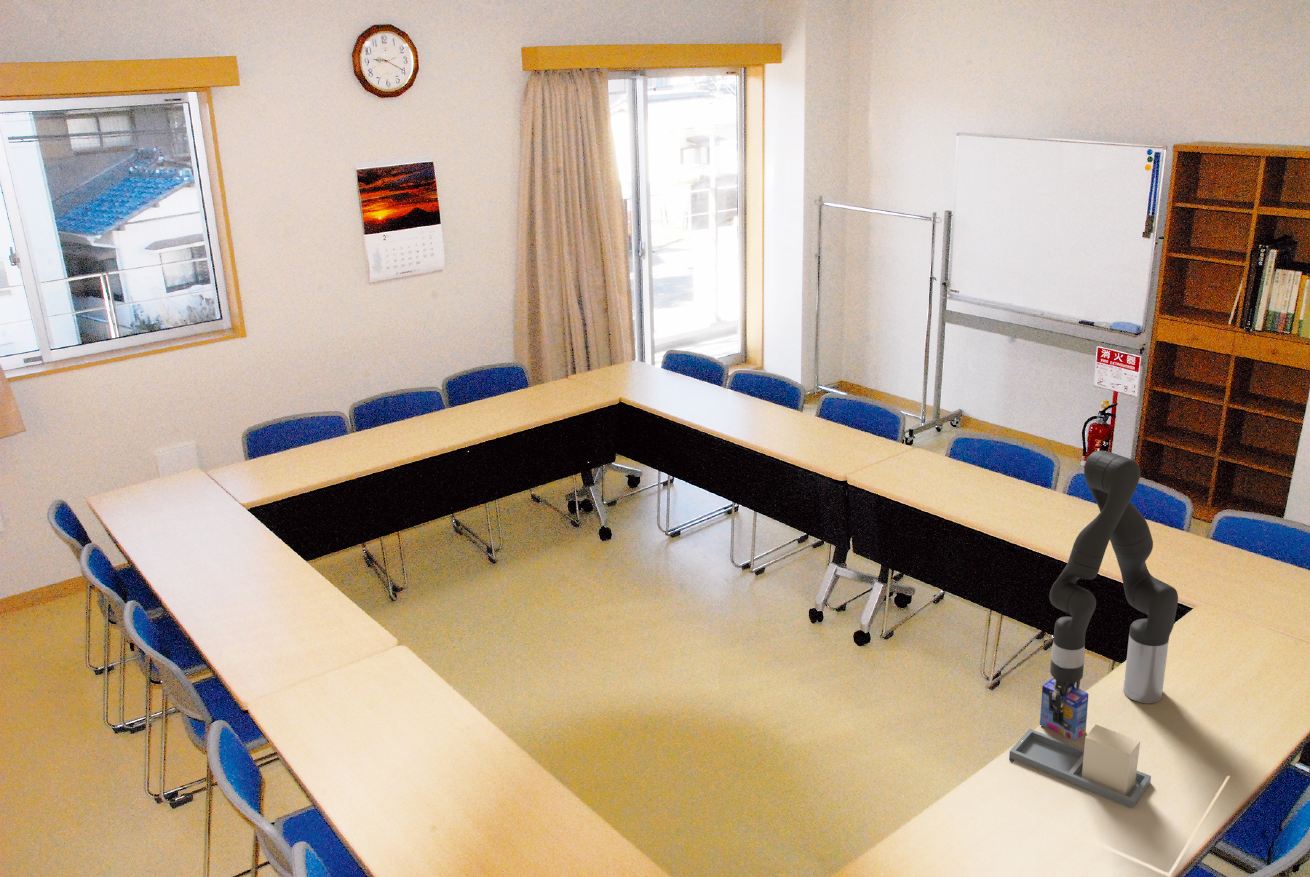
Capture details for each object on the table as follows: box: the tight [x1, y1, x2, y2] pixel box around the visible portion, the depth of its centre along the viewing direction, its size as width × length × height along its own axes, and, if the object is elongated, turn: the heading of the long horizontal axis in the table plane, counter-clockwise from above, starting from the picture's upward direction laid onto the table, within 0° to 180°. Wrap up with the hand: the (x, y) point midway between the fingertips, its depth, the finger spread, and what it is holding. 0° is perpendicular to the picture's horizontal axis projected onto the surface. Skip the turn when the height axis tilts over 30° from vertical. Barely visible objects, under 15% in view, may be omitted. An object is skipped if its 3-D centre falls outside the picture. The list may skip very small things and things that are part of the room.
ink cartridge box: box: [1039, 677, 1089, 741], centre depth 259 cm, size 10×6×14 cm, turn 38°
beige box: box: [1082, 724, 1141, 796], centre depth 240 cm, size 6×10×12 cm, turn 47°
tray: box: [1008, 728, 1152, 810], centre depth 247 cm, size 11×29×2 cm, turn 47°
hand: (1062, 716), depth 260 cm, fingers closed on ink cartridge box, 5 cm apart
